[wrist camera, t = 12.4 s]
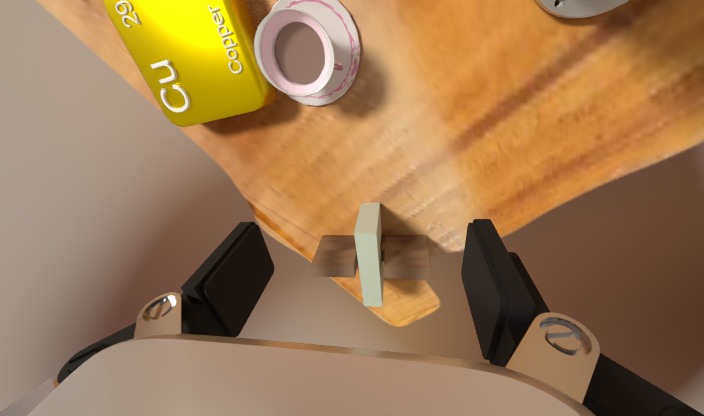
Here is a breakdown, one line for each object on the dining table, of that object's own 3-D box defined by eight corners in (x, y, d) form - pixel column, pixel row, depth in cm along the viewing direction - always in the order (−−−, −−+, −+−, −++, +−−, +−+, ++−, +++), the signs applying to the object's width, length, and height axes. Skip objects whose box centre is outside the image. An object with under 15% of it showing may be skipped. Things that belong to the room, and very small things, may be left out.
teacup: (262, 91, 34) (238, 98, 29) (267, -26, 28) (237, -43, 22) (348, 115, 34) (339, 128, 29) (373, 5, 28) (367, -5, 22)
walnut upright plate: (426, 235, 42) (431, 268, 36) (425, 246, 43) (430, 279, 37) (322, 235, 46) (310, 265, 39) (325, 245, 47) (313, 276, 41)
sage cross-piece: (379, 202, 40) (376, 233, 34) (384, 270, 48) (382, 306, 41) (361, 203, 41) (354, 233, 34) (368, 270, 49) (364, 305, 42)
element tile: (282, 101, 35) (267, 108, 31) (193, 122, 38) (169, 131, 34) (232, -44, 27) (204, -60, 23) (128, -1, 31) (88, -9, 27)
